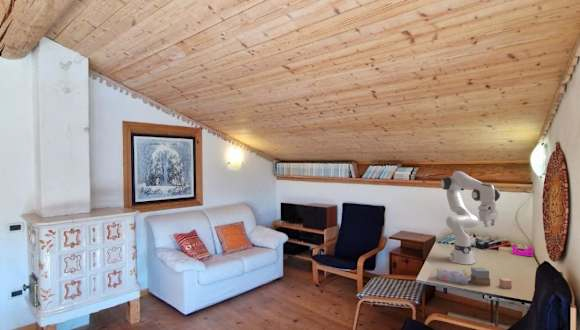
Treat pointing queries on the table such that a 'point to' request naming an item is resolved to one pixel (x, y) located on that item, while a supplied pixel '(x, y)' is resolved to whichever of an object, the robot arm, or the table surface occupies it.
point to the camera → (481, 244)
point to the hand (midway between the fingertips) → (489, 226)
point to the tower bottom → (480, 280)
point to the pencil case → (452, 275)
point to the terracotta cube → (505, 283)
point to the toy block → (519, 252)
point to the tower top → (480, 272)
